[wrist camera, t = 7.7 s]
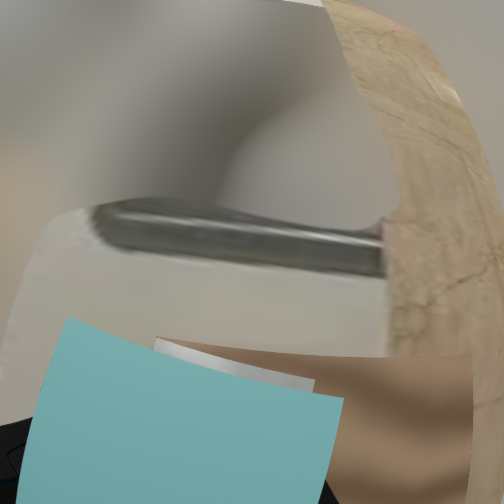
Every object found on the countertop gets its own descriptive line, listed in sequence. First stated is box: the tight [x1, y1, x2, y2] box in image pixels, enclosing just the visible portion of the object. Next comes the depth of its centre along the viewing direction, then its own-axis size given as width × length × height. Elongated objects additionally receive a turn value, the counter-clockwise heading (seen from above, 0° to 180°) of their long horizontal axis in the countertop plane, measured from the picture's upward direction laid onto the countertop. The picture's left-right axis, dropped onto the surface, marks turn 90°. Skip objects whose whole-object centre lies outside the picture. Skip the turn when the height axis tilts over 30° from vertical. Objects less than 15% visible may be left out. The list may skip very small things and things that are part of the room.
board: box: [156, 337, 473, 504], centre depth 14 cm, size 19×23×1 cm
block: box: [16, 316, 344, 504], centre depth 7 cm, size 4×4×11 cm
